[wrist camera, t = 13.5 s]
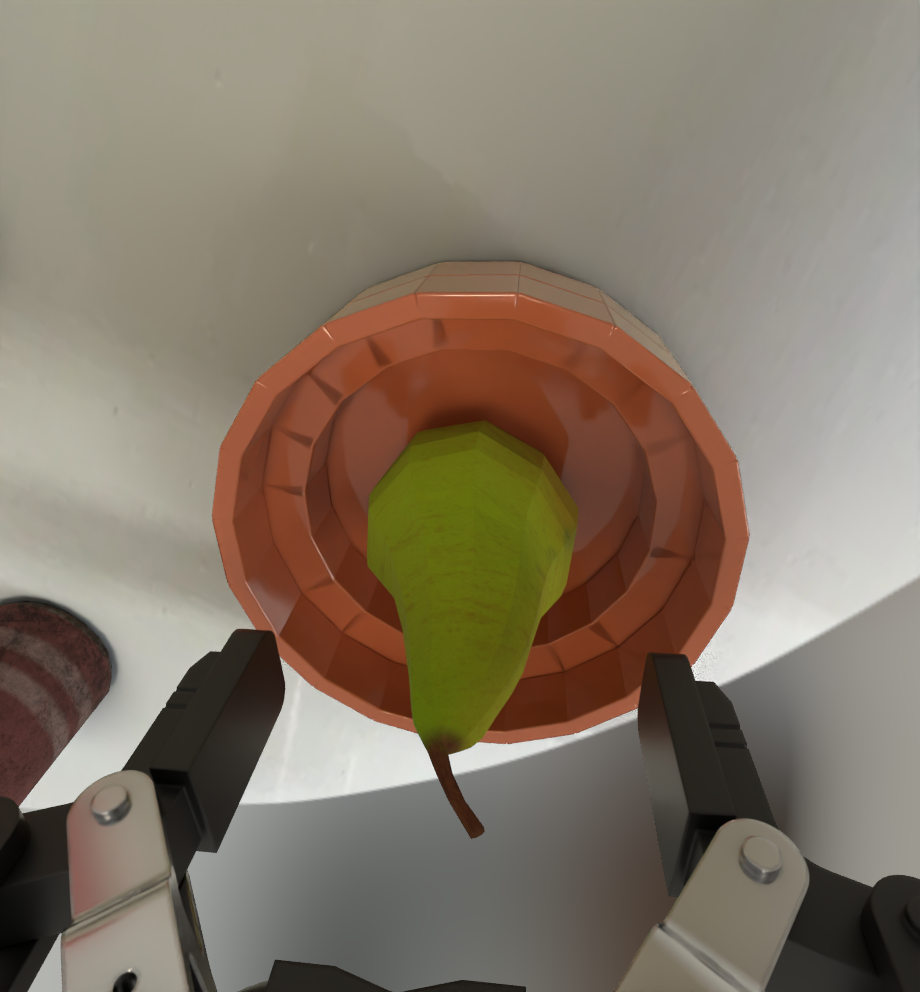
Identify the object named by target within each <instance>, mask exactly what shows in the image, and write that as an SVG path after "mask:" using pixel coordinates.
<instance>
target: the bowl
mask: <svg viewBox="0 0 920 992" xmlns="http://www.w3.org/2000/svg"><path fill="white" fill-rule="evenodd" d="M483 420H487V421H488V422H490V423H492V424H494V425H495V426H497V427H499V428H501V429H502V430H504V431H506V432H508V433H509V434H511V435H513V436H515V437H516V438H518V439H520V440H522V441H523V442H525V443H527V444H529V445H531V446H532V447H534V448H536V449H538V450H539V451H541V452H542V453H543V454H544V455H545V457H546V458H547V460H548V461H549V463H550V465H551V466H552V468H553V469H554V471H555V472H556V474H557V476H558V477H559V479H560V480H561V482H562V483H563V485H564V487H565V488H566V490H567V491H568V493H569V494H570V496H571V498H572V499H573V501H574V502H575V504H576V505H577V507H578V508H579V510H578V523H577V530H576V535H575V541H574V546H573V552H572V557H571V562H570V568H569V573H568V579H567V584H566V586H565V588H564V590H563V593H562V595H561V597H560V598H559V599H558V600H557V601H556V602H555V603H554V604H553V605H552V606H551V607H550V608H549V610H548V611H547V612H546V613H545V614H544V615H543V616H542V617H541V619H540V622H539V625H538V628H537V631H536V634H535V637H534V640H533V643H532V646H531V649H530V652H529V655H528V658H527V662H526V665H525V668H524V671H523V673H522V675H521V677H520V679H519V681H518V683H517V685H516V687H515V689H514V691H513V693H512V694H511V696H510V697H509V699H508V700H507V702H506V703H505V705H504V706H503V708H502V709H501V711H500V712H499V714H498V715H497V716H496V718H495V719H494V721H493V723H492V724H491V726H490V727H489V729H488V730H487V732H486V733H485V735H484V737H483V738H482V739H481V740H480V741H478V742H484V743H498V744H506V743H507V744H512V743H519V742H525V741H532V740H538V739H545V738H552V737H558V736H565V735H571V734H574V733H579V732H581V731H583V730H586V729H588V728H591V727H593V726H596V725H598V724H601V723H603V722H605V721H608V720H610V719H613V718H615V717H618V716H620V715H622V714H625V713H627V712H630V711H632V710H635V709H637V708H638V704H639V697H640V691H641V685H642V679H643V673H644V667H645V661H646V656H647V654H648V652H655V653H673V654H685V655H686V656H687V657H688V659H689V662H690V666H691V667H692V664H695V662H696V661H697V659H698V658H699V656H700V655H701V653H702V652H703V650H704V649H705V647H706V646H707V644H708V643H709V642H710V640H711V639H712V637H713V636H714V634H715V633H716V631H717V630H718V628H719V627H720V625H721V624H722V622H723V621H724V619H725V618H726V617H727V615H728V614H729V612H730V611H731V608H732V606H733V604H734V599H735V595H736V591H737V587H738V583H739V579H740V574H741V570H742V566H743V562H744V558H745V554H746V549H747V545H748V541H749V536H750V534H749V527H748V521H747V514H746V508H745V502H744V495H743V489H742V483H741V476H740V470H739V464H738V460H737V459H736V455H735V454H734V452H733V450H732V449H731V447H730V445H729V444H728V442H727V440H726V439H725V437H724V436H723V434H722V432H721V431H720V429H719V427H718V426H717V424H716V422H715V421H714V419H713V417H712V416H711V414H710V412H709V411H708V409H707V408H706V406H705V404H704V403H703V401H702V399H701V398H700V396H699V394H698V393H697V391H696V389H695V388H694V386H693V385H692V383H691V382H690V380H689V379H688V378H687V376H686V375H685V373H684V372H683V370H682V369H681V367H680V366H679V365H678V363H677V362H676V360H675V359H674V357H673V356H672V354H671V353H670V352H669V350H668V349H667V347H666V346H665V344H664V343H663V341H662V340H661V339H660V337H658V336H657V334H656V333H655V332H653V331H652V330H651V329H649V328H648V327H647V326H646V325H644V324H643V323H642V322H641V321H639V320H638V319H637V318H636V317H634V316H633V315H632V314H630V313H629V312H628V311H627V310H625V309H624V308H623V307H622V306H620V305H619V304H618V303H616V302H615V301H614V300H613V299H611V298H610V297H609V296H608V295H606V294H605V293H604V292H603V291H601V290H599V289H597V288H596V287H594V286H591V285H588V284H585V283H583V282H580V281H577V280H574V279H571V278H568V277H565V276H562V275H559V274H556V273H553V272H550V271H547V270H544V269H541V268H538V267H535V266H532V265H529V264H526V263H520V262H519V261H513V262H441V263H440V264H439V263H436V264H433V265H430V266H427V267H425V268H422V269H419V270H416V271H413V272H411V273H408V274H405V275H402V276H399V277H397V278H394V279H391V280H388V281H385V282H383V283H380V284H377V285H374V286H371V287H369V288H368V289H365V290H364V291H363V292H361V293H360V294H359V295H358V296H357V297H355V298H354V299H353V300H352V301H351V302H349V303H348V304H347V305H346V306H344V307H343V308H342V309H341V310H340V311H338V312H337V313H336V314H335V315H334V316H332V317H331V318H330V319H329V320H327V321H326V322H325V323H324V324H323V325H321V326H320V327H319V328H318V329H317V330H315V331H314V332H313V333H312V334H311V335H309V336H308V337H307V338H306V339H304V340H303V341H302V342H301V343H300V344H298V345H297V346H296V347H295V348H294V349H292V350H291V351H290V352H289V353H288V354H286V355H285V356H284V357H283V358H281V359H280V360H279V361H278V362H277V363H275V364H274V365H273V366H272V367H271V368H269V369H268V370H267V371H266V372H265V373H263V374H262V375H261V376H260V377H259V378H258V379H257V380H256V381H255V383H254V385H253V387H252V389H251V391H250V392H249V394H248V396H247V398H246V400H245V402H244V403H243V405H242V407H241V409H240V411H239V413H238V414H237V416H236V418H235V420H234V422H233V424H232V425H231V427H230V429H229V431H228V433H227V435H226V436H225V438H224V440H223V442H222V444H221V447H220V450H219V459H218V468H217V476H216V485H215V493H214V502H213V510H212V518H213V519H212V521H213V525H214V529H215V533H216V537H217V541H218V545H219V550H220V554H221V558H222V562H223V566H224V570H225V574H226V578H227V582H228V584H229V587H230V588H231V590H232V592H233V593H234V595H235V597H236V598H237V600H238V601H239V603H240V605H241V606H242V608H243V609H244V611H245V613H246V614H247V616H248V618H249V619H250V621H251V622H252V624H253V626H254V627H255V629H256V630H270V631H272V632H273V633H274V635H275V638H276V642H277V647H278V652H279V656H280V657H281V658H282V659H283V660H284V661H285V662H286V663H287V664H289V665H290V666H291V667H292V668H293V669H294V670H295V671H296V672H297V673H298V674H299V675H300V676H302V677H303V678H304V679H305V680H306V681H307V682H308V683H309V684H310V685H311V686H314V688H315V689H317V690H319V691H321V692H323V693H324V694H326V695H328V696H330V697H332V698H334V699H335V700H337V701H339V702H341V703H343V704H344V705H346V706H348V707H350V708H352V709H353V710H355V711H357V712H359V713H361V714H362V715H364V716H366V717H368V718H370V719H373V720H374V721H376V722H380V723H383V724H387V725H390V726H394V727H397V728H400V729H404V730H407V731H411V732H414V733H418V732H417V731H416V729H415V727H414V724H413V717H412V710H411V700H410V684H409V674H408V667H407V659H406V652H405V644H404V637H403V629H402V626H401V622H400V618H399V615H398V611H397V607H396V603H395V600H394V598H393V596H392V595H391V594H390V593H389V591H388V590H387V589H386V588H385V587H384V585H383V584H382V583H381V582H380V581H379V579H378V578H377V577H376V576H375V574H374V573H373V572H372V571H371V570H370V568H369V567H368V566H367V538H368V508H369V495H370V493H371V492H372V490H373V489H374V487H375V486H376V485H377V483H378V482H379V480H380V479H381V478H382V476H383V475H384V474H385V473H386V471H387V470H388V469H389V468H390V466H391V465H392V464H393V463H394V461H395V460H396V459H397V457H398V456H399V455H400V454H401V452H402V451H403V450H404V449H405V447H406V446H407V445H408V444H409V442H410V441H411V440H412V438H413V437H414V436H415V435H416V433H417V432H420V431H423V430H427V429H433V428H440V427H446V426H452V425H458V424H465V423H471V422H477V421H483Z"/></svg>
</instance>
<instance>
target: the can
mask: <svg viewBox="0 0 920 992" xmlns="http://www.w3.org/2000/svg"><path fill="white" fill-rule="evenodd" d="M111 668H112V666H111V662H110V658H109V654H108V651H107V650H106V648H105V646H104V645H103V643H102V642H101V640H100V638H99V637H98V636H97V635H96V634H95V633H94V632H93V631H92V630H91V629H90V628H89V627H88V626H87V625H86V624H85V623H83V622H82V621H80V620H78V619H77V618H75V617H74V616H72V615H70V614H69V613H67V612H66V611H63V610H60V609H58V608H55V607H52V606H50V605H47V604H42V603H35V602H28V601H25V602H18V603H10V604H4V605H0V796H3V797H7V798H10V799H12V800H13V801H15V803H16V804H17V805H18V807H19V806H20V804H21V803H22V802H23V800H24V799H25V798H26V797H27V795H28V794H29V793H30V792H31V790H32V789H33V788H34V786H35V785H36V784H37V783H38V781H39V780H40V779H41V778H42V776H43V775H44V774H45V772H46V771H47V770H48V769H49V767H50V766H51V765H52V763H53V762H54V761H55V760H56V758H57V757H58V756H59V755H60V753H61V752H62V751H63V749H64V748H65V747H66V746H67V744H68V743H69V742H70V740H71V739H72V738H73V737H74V735H75V734H76V733H77V732H78V730H79V729H80V728H81V726H82V725H83V724H84V723H85V721H86V720H87V719H88V718H89V716H90V715H91V714H92V712H93V711H94V710H95V709H96V707H97V706H98V705H99V703H100V702H101V701H102V700H103V698H104V697H105V696H106V695H107V693H108V692H109V687H110V682H111Z"/></svg>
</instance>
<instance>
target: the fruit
mask: <svg viewBox="0 0 920 992" xmlns="http://www.w3.org/2000/svg"><path fill="white" fill-rule="evenodd" d="M578 510H579V508H578V507H577V505H576V504H575V502H574V501H573V499H572V498H571V496H570V494H569V493H568V491H567V490H566V488H565V487H564V485H563V483H562V482H561V480H560V479H559V477H558V476H557V474H556V472H555V471H554V469H553V468H552V466H551V465H550V463H549V461H548V460H547V458H546V457H545V455H544V454H543V453H542V452H541V451H539V450H538V449H536V448H534V447H532V446H531V445H529V444H527V443H525V442H523V441H522V440H520V439H518V438H516V437H515V436H513V435H511V434H509V433H508V432H506V431H504V430H502V429H501V428H499V427H497V426H495V425H494V424H492V423H490V422H488V421H487V420H483V421H477V422H471V423H465V424H458V425H452V426H446V427H440V428H433V429H427V430H423V431H420V432H417V433H416V435H415V436H414V437H413V438H412V440H411V441H410V442H409V444H408V445H407V446H406V447H405V449H404V450H403V451H402V452H401V454H400V455H399V456H398V457H397V459H396V460H395V461H394V463H393V464H392V465H391V466H390V468H389V469H388V470H387V471H386V473H385V474H384V475H383V476H382V478H381V479H380V480H379V482H378V483H377V485H376V486H375V487H374V489H373V490H372V492H371V493H370V495H369V508H368V538H367V566H368V567H369V568H370V570H371V571H372V572H373V573H374V574H375V576H376V577H377V578H378V579H379V581H380V582H381V583H382V584H383V585H384V587H385V588H386V589H387V590H388V591H389V593H390V594H391V595H392V596H393V598H394V600H395V603H396V607H397V611H398V615H399V618H400V622H401V626H402V629H403V637H404V644H405V652H406V659H407V667H408V674H409V684H410V700H411V710H412V717H413V724H414V727H415V729H416V731H417V732H418V734H419V736H420V738H421V740H422V742H423V744H424V746H425V748H426V750H427V751H428V754H429V756H430V759H431V762H432V764H433V767H434V769H435V772H436V774H437V776H438V779H439V781H440V783H441V785H442V787H443V790H444V792H445V794H446V796H447V798H448V800H449V802H450V804H451V806H452V807H453V809H454V811H455V813H456V814H457V816H458V818H459V819H460V821H461V823H462V824H463V826H464V828H465V829H466V831H467V832H468V834H469V836H470V838H471V839H472V838H476V837H478V836H480V835H482V834H483V832H484V827H483V825H482V824H481V823H480V821H479V820H478V818H477V817H476V816H475V814H474V813H473V811H472V810H471V809H470V807H469V806H468V804H467V803H466V802H465V800H464V798H463V796H462V793H461V791H460V789H459V787H458V785H457V783H456V780H455V778H454V776H453V774H452V770H451V766H450V761H449V756H448V755H449V754H453V753H456V752H460V751H463V750H465V749H468V748H471V747H472V746H473V745H475V744H476V743H477V742H478V741H480V740H481V739H482V738H483V737H484V735H485V733H486V732H487V730H488V729H489V727H490V726H491V724H492V723H493V721H494V719H495V718H496V716H497V715H498V714H499V712H500V711H501V709H502V708H503V706H504V705H505V703H506V702H507V700H508V699H509V697H510V696H511V694H512V693H513V691H514V689H515V687H516V685H517V683H518V681H519V679H520V677H521V675H522V673H523V671H524V668H525V665H526V662H527V658H528V655H529V652H530V649H531V646H532V643H533V640H534V637H535V634H536V631H537V628H538V625H539V622H540V619H541V617H542V616H543V615H544V614H545V613H546V612H547V611H548V610H549V608H550V607H551V606H552V605H553V604H554V603H555V602H556V601H557V600H558V599H559V598H560V597H561V595H562V593H563V590H564V588H565V586H566V584H567V579H568V573H569V568H570V562H571V557H572V552H573V546H574V541H575V535H576V530H577V523H578Z"/></svg>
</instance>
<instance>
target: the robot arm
mask: <svg viewBox="0 0 920 992" xmlns="http://www.w3.org/2000/svg"><path fill="white" fill-rule="evenodd" d="M284 695H285V681H284V675H283V671H282V666H281V661H280V657H279V652H278V647H277V642H276V638H275V635H274V633H273V632H272V631H270V630H252V629H237V630H235V631H234V632H233V633H232V635H231V636H230V638H229V639H228V641H227V643H226V644H225V646H224V647H223V649H222V651H221V652H212V651H210V652H209V653H208V654H206V655H205V656H204V657H203V658H201V659H200V660H199V661H198V662H197V663H195V664H194V665H193V666H192V667H190V668H189V670H188V671H187V673H186V674H185V676H184V677H183V679H182V680H181V682H180V683H179V685H178V686H177V690H176V692H173V694H172V695H171V697H170V699H169V700H168V702H167V703H166V707H165V708H163V709H162V711H161V712H160V714H159V715H158V717H157V718H156V720H155V721H154V723H153V724H152V726H151V727H150V729H149V730H148V732H147V733H146V735H145V736H144V738H143V739H142V741H141V742H140V744H139V745H138V747H137V748H136V750H135V751H134V753H133V754H132V756H131V757H130V759H129V760H128V762H127V763H126V765H125V766H124V768H123V769H122V770H121V771H119V772H115V773H112V774H109V775H107V776H105V777H103V778H101V779H99V780H97V781H96V782H94V783H93V784H91V785H90V786H89V787H87V788H86V789H85V790H84V791H83V792H82V793H81V794H80V795H79V796H78V797H77V799H76V800H75V801H74V802H72V803H69V804H64V805H60V806H55V807H50V808H46V809H41V810H37V811H32V812H27V813H23V814H22V812H21V811H20V809H19V807H18V805H17V804H16V803H15V801H13V800H12V799H10V798H7V797H3V796H0V992H27V991H28V990H29V988H30V986H31V984H32V982H33V981H34V979H35V977H36V975H37V973H38V972H39V970H40V968H41V966H42V964H43V963H44V961H45V959H46V957H47V955H48V953H49V952H50V950H51V948H52V946H53V944H54V943H55V941H56V939H57V937H58V935H59V934H60V933H62V936H61V967H62V968H61V971H62V992H217V989H216V986H215V983H214V980H213V977H212V973H211V969H210V966H209V962H208V958H207V953H206V948H205V944H204V940H203V935H202V931H201V926H200V922H199V917H198V913H197V908H196V904H195V899H194V895H193V890H192V886H191V881H190V877H189V874H188V871H187V869H188V866H189V864H190V862H191V860H192V858H193V856H194V854H195V852H196V851H202V852H213V853H217V851H218V849H219V847H220V844H221V842H222V840H223V838H224V835H225V833H226V831H227V829H228V827H229V824H230V822H231V820H232V818H233V816H234V813H235V811H236V809H237V807H238V805H239V802H240V800H241V798H242V796H243V793H244V791H245V789H246V787H247V785H248V782H249V780H250V778H251V776H252V773H253V771H254V769H255V767H256V765H257V762H258V760H259V758H260V756H261V753H262V751H263V749H264V747H265V745H266V742H267V740H268V738H269V736H270V733H271V731H272V729H273V727H274V725H275V722H276V720H277V718H278V716H279V713H280V711H281V709H282V705H283V701H284ZM638 731H639V738H640V744H641V749H642V755H643V760H644V766H645V771H646V776H647V782H648V788H649V793H650V799H651V804H652V809H653V815H654V821H655V826H656V831H657V837H658V842H659V848H660V853H661V859H662V864H663V870H664V875H665V881H666V886H667V891H668V896H671V897H678V898H677V900H676V902H675V904H674V905H673V907H672V909H671V910H670V912H669V914H668V915H667V917H666V918H665V920H664V921H663V922H662V923H661V924H660V923H657V924H656V925H655V926H654V927H653V929H652V930H651V931H650V933H649V934H648V936H647V937H646V939H645V941H644V942H643V944H642V945H641V947H640V949H639V950H638V952H637V954H636V955H635V957H634V959H633V961H632V962H631V964H630V965H629V967H628V969H627V970H626V972H625V974H624V975H623V977H622V979H621V980H620V982H619V984H618V985H617V987H616V989H615V990H614V992H920V879H917V878H914V877H910V876H905V875H892V876H887V877H885V878H882V879H881V880H879V881H878V882H877V883H876V884H875V886H874V887H870V886H868V885H865V884H862V883H860V882H857V881H854V880H852V879H849V878H847V877H844V876H841V875H839V874H836V873H833V872H831V871H828V870H826V869H824V868H822V867H819V866H818V865H816V864H814V863H813V862H811V861H809V860H808V859H807V858H805V857H804V856H803V855H802V853H801V852H800V851H799V849H798V848H797V846H796V845H795V844H794V843H793V842H792V841H791V840H790V839H789V838H788V837H787V836H786V835H785V834H783V833H782V832H781V831H780V830H779V829H778V827H777V825H776V823H775V821H774V818H773V815H772V813H771V810H770V807H769V804H768V802H767V799H766V796H765V793H764V790H763V787H762V785H761V782H760V779H759V777H758V774H757V771H756V768H755V765H754V763H753V760H752V757H751V754H750V752H749V749H747V743H746V741H745V738H744V735H743V732H742V730H740V724H739V721H738V719H737V716H736V713H735V710H734V707H733V705H732V702H731V701H730V700H729V699H728V698H727V697H726V695H725V694H724V693H723V692H722V691H721V690H720V689H719V687H718V686H717V685H716V684H715V683H714V682H706V681H695V679H694V675H693V672H692V669H691V666H690V662H689V659H688V657H687V656H686V655H685V654H673V653H655V652H648V654H647V656H646V661H645V667H644V673H643V679H642V685H641V691H640V697H639V704H638ZM238 992H391V991H388V990H386V989H384V988H381V987H380V986H377V985H375V984H373V983H371V982H369V981H366V980H364V979H362V978H360V977H358V976H355V975H353V974H351V973H349V972H346V971H344V970H342V969H340V968H338V967H335V966H329V965H319V964H310V963H301V962H291V961H282V960H275V961H274V965H273V968H272V971H271V974H270V977H269V980H268V981H266V982H261V983H258V984H255V985H253V986H250V987H247V988H244V989H242V990H240V991H238ZM405 992H526V987H523V986H514V985H505V984H496V983H486V982H476V981H468V980H460V981H455V982H449V983H444V984H439V985H435V986H429V987H424V988H419V989H414V990H409V991H405Z"/></svg>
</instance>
